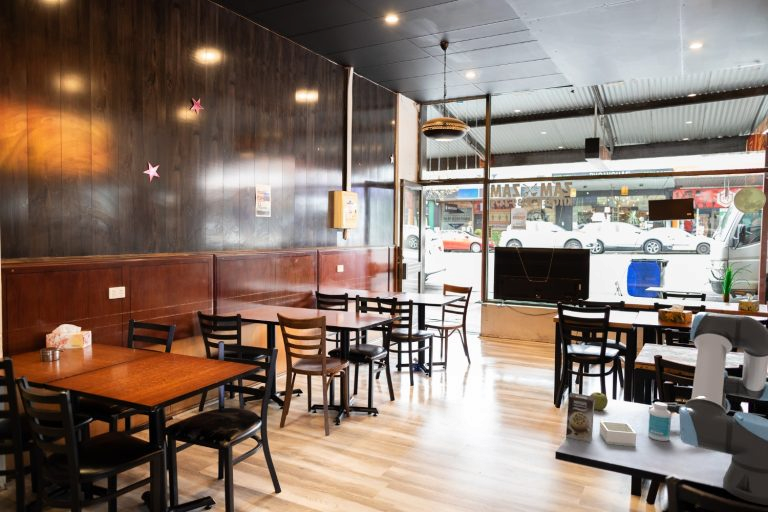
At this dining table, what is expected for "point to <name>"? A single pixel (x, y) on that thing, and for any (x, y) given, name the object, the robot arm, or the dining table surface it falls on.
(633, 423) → the dining table surface
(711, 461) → the dining table surface
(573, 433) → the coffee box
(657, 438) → the pill bottle
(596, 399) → the apple
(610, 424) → the holder
